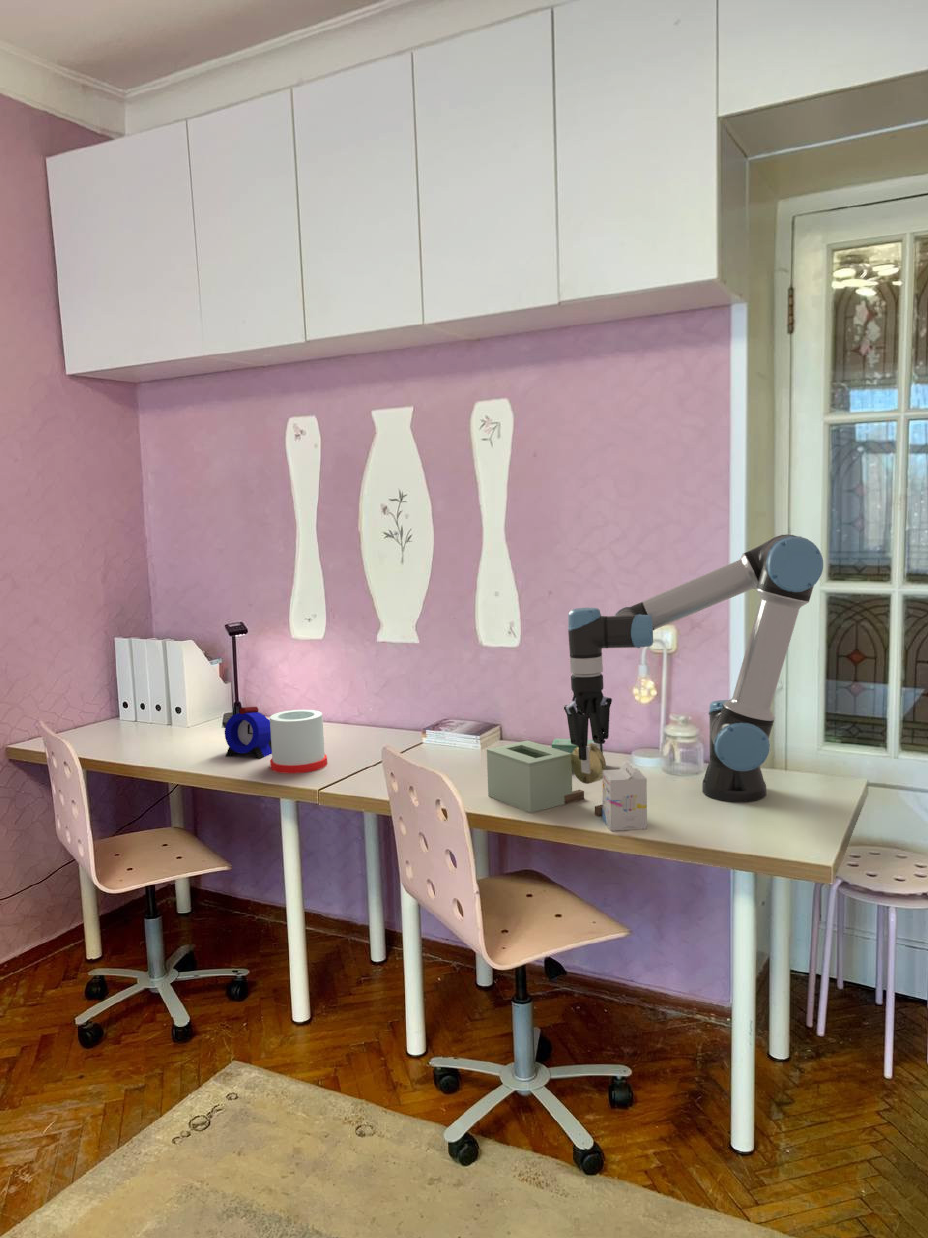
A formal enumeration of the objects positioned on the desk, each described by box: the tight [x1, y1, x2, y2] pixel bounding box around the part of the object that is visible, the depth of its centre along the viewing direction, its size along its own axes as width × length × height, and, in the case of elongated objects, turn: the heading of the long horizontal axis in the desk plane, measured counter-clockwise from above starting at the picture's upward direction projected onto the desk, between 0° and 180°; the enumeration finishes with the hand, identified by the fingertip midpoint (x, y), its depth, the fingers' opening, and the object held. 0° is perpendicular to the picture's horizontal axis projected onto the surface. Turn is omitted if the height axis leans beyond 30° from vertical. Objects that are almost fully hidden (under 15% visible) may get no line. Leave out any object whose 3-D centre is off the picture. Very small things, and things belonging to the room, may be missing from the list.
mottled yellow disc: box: [571, 744, 607, 784], centre depth 226 cm, size 3×9×9 cm, turn 34°
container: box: [269, 709, 328, 774], centre depth 271 cm, size 16×16×15 cm
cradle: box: [564, 789, 603, 818], centre depth 227 cm, size 14×6×2 cm, turn 35°
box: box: [551, 738, 604, 772], centre depth 260 cm, size 7×14×8 cm, turn 78°
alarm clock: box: [224, 706, 272, 760], centre depth 286 cm, size 12×12×15 cm
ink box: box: [602, 761, 648, 832], centre depth 214 cm, size 9×8×13 cm
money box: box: [486, 740, 573, 814], centre depth 234 cm, size 17×13×12 cm
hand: (591, 771), depth 226 cm, fingers closed on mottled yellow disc, 2 cm apart
